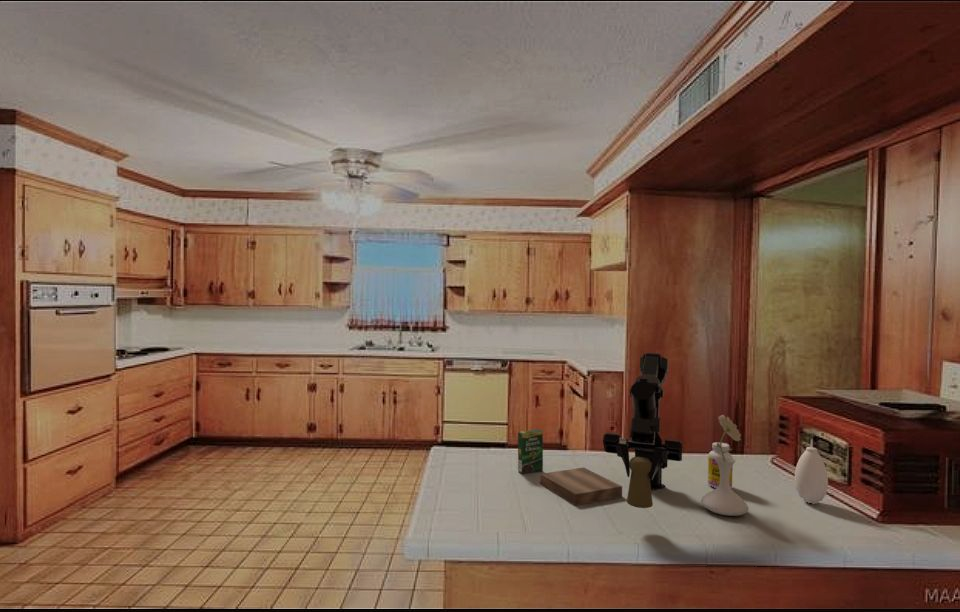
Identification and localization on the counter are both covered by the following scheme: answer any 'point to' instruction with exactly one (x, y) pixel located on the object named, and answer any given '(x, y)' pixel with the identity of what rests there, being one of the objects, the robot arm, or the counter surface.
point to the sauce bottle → (811, 476)
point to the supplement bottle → (713, 465)
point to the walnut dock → (580, 485)
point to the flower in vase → (725, 480)
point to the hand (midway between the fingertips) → (639, 477)
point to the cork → (640, 483)
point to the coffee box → (530, 451)
